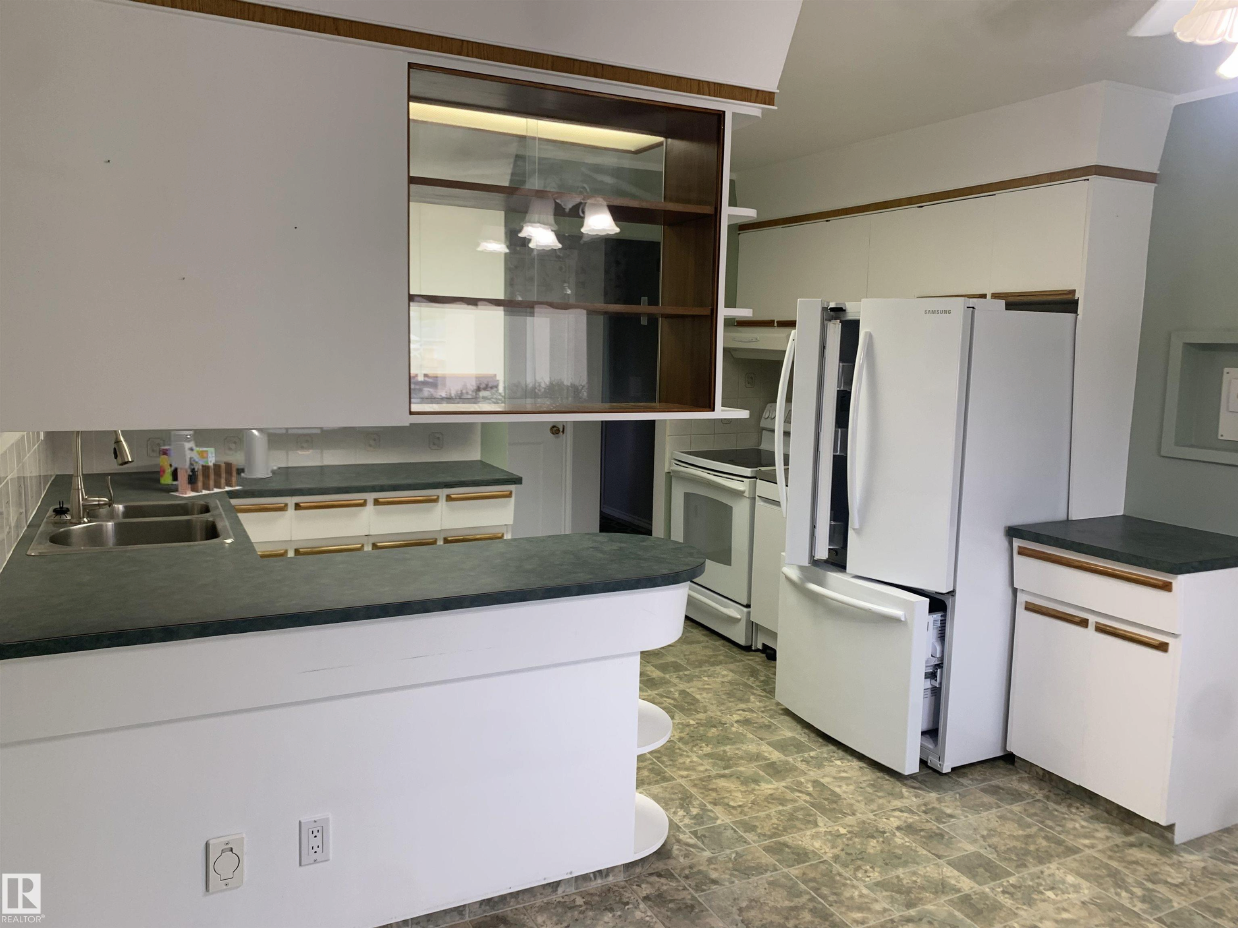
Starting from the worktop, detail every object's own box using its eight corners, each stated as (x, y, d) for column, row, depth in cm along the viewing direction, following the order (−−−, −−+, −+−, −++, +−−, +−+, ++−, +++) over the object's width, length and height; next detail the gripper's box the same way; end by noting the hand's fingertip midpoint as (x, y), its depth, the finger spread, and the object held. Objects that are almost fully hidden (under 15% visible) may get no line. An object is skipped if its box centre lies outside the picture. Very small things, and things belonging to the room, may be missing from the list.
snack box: (216, 484, 363) (215, 447, 361) (208, 486, 358) (207, 449, 355) (167, 481, 365) (166, 445, 363) (159, 483, 360) (157, 447, 357)
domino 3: (206, 489, 349) (205, 464, 348) (214, 490, 347) (213, 465, 345) (202, 489, 348) (201, 464, 346) (210, 491, 345) (209, 466, 344)
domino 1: (182, 492, 341) (181, 467, 339) (190, 494, 338) (189, 468, 337) (178, 493, 339) (177, 467, 338) (186, 494, 337) (185, 469, 335)
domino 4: (217, 487, 353) (216, 462, 352) (225, 488, 351) (224, 464, 350) (213, 487, 352) (212, 463, 351) (221, 489, 350) (220, 464, 348)
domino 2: (194, 490, 345) (193, 465, 343) (202, 492, 342) (201, 467, 341) (190, 491, 344) (189, 466, 342) (198, 493, 341) (197, 467, 340)
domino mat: (226, 485, 360) (226, 484, 360) (243, 488, 355) (242, 487, 355) (169, 494, 339) (169, 493, 339) (185, 497, 334) (185, 496, 334)
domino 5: (228, 485, 358) (227, 461, 356) (236, 487, 355) (235, 462, 354) (224, 486, 356) (224, 461, 355) (232, 487, 354) (232, 463, 352)
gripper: (205, 439, 334) (207, 484, 337) (177, 435, 343) (179, 478, 346) (187, 441, 328) (189, 486, 331) (159, 437, 336) (161, 481, 339)
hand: (184, 482), depth 338 cm, fingers open, 9 cm apart
